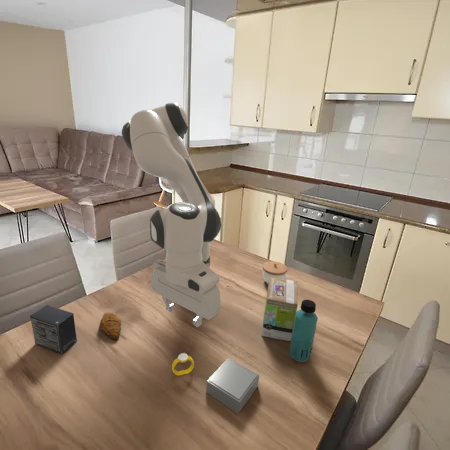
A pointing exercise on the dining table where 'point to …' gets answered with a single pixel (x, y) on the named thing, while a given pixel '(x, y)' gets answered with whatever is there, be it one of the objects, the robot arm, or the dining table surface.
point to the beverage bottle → (303, 331)
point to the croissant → (111, 325)
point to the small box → (54, 328)
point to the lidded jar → (273, 270)
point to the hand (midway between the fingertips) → (183, 317)
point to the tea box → (280, 309)
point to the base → (232, 384)
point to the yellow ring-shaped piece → (182, 358)
